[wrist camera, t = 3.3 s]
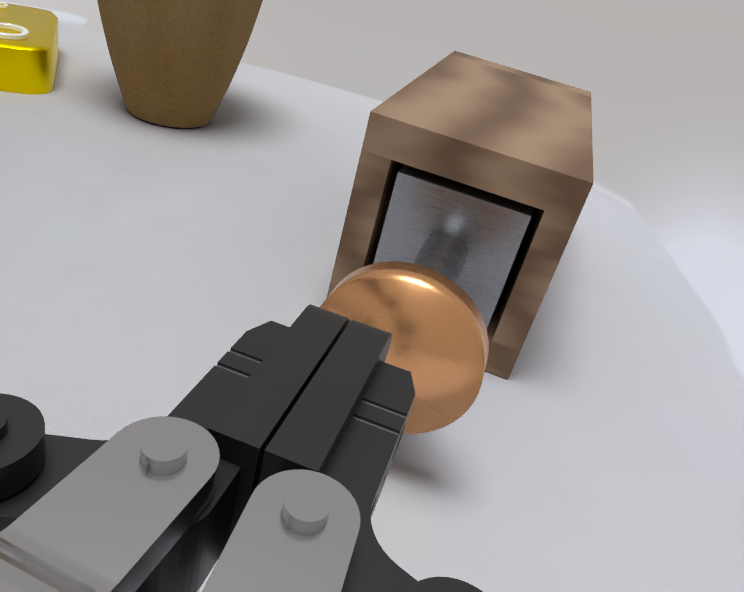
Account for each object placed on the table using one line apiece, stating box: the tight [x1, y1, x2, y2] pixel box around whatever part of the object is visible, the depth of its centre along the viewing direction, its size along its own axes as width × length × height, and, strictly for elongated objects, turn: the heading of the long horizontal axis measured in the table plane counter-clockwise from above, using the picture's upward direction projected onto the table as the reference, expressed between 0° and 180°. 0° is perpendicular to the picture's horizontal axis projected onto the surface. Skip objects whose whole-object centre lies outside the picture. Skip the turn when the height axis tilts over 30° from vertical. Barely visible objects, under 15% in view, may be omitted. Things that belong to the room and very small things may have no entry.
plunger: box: [320, 164, 533, 433], centre depth 34 cm, size 7×21×7 cm, turn 163°
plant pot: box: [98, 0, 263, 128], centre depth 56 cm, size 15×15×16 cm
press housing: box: [327, 51, 593, 379], centre depth 45 cm, size 11×24×12 cm, turn 163°
